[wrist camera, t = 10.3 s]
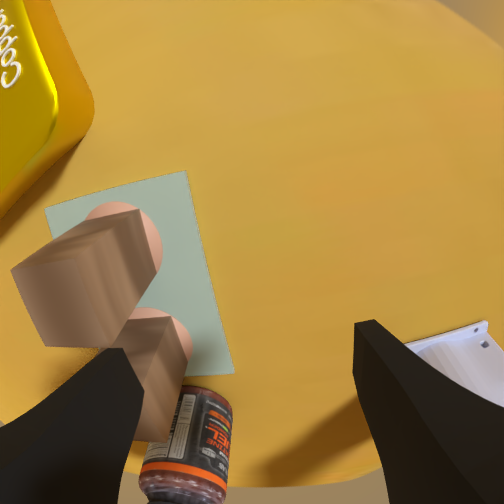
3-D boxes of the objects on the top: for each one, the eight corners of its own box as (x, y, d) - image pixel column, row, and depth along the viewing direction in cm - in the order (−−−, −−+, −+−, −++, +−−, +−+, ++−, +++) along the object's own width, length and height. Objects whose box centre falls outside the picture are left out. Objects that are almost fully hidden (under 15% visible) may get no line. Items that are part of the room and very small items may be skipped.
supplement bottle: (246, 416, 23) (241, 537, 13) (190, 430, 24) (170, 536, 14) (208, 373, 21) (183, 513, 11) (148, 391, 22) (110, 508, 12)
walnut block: (139, 208, 16) (74, 258, 10) (156, 273, 18) (110, 347, 11) (83, 221, 16) (10, 270, 10) (102, 280, 18) (45, 346, 11)
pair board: (186, 170, 16) (183, 171, 15) (234, 369, 21) (234, 374, 21) (47, 207, 17) (43, 209, 16) (115, 373, 22) (113, 377, 21)
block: (171, 315, 19) (137, 396, 12) (188, 362, 20) (167, 443, 14) (118, 320, 19) (73, 392, 13) (138, 363, 21) (107, 436, 14)
